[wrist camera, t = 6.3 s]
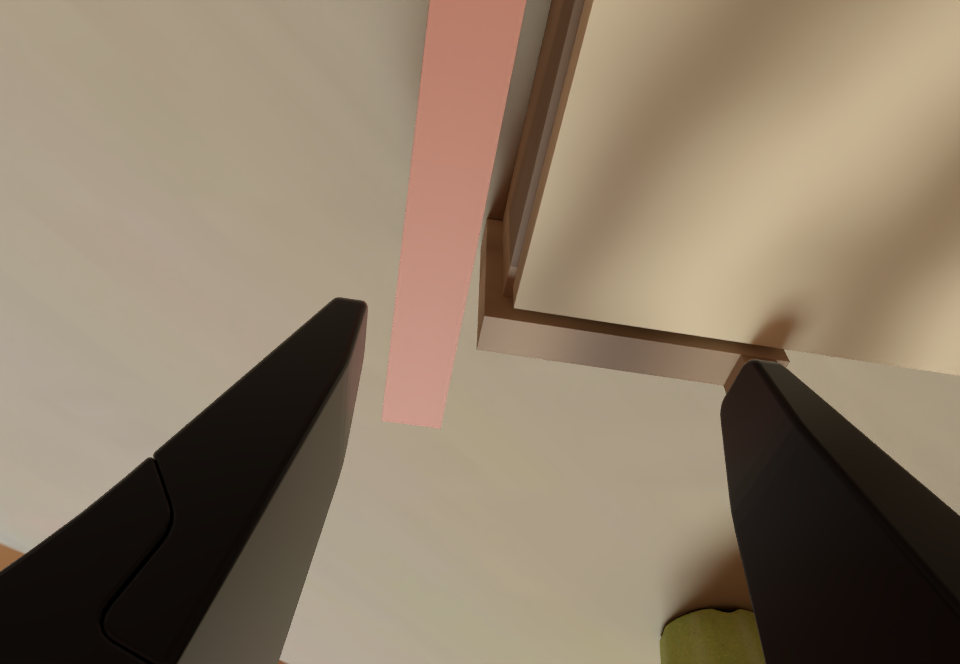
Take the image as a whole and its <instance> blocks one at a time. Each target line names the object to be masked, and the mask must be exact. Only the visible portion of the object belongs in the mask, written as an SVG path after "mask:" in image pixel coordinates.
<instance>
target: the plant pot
mask: <svg viewBox="0 0 960 664" xmlns="http://www.w3.org/2000/svg"><path fill="white" fill-rule="evenodd" d="M660 656H661V664H765V659H764V655H763V650H762V646H761V642H760V637H759V633H758V629H757V624H756V620H755V616H754V613H753V612H750V611H747V610H742V609H738V610H736V611H734V612H730V613H726V612H721V611H717V610H715V609H703V610H698V611H695V612H692V613H689V614H686V615H684V616H682V617H679V618H677V619H675V620H674V621H672V622H671V623H669V624H668V625H667V626H666V627H665V629H664V632H663V635H662V638H661V640H660Z"/></svg>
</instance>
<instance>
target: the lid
mask: <svg viewBox="0 0 960 664" xmlns="http://www.w3.org/2000/svg"><path fill="white" fill-rule="evenodd" d="M513 304H514V308H517V309H523V310H530V311H536V312H543V313H550V314H556V315H563V316H569V317H576V318H582V319H589V320H596V321H602V322H609V323H615V324H622V325H629V326H635V327H642V328H648V329H655V330H662V331H668V332H675V333H681V334H688V335H695V336H701V337H708V338H714V339H721V340H728V341H734V342H741V343H747V344H754V345H761V346H767V347H774V348H780V349H787V350H793V351H800V352H807V353H813V354H820V355H826V356H833V357H840V358H846V359H853V360H859V361H866V362H873V363H879V364H886V365H892V366H899V367H906V368H912V369H919V370H925V371H932V372H939V373H945V374H952V375H958V376H960V0H585V2H584V6H583V10H582V14H581V18H580V22H579V26H578V30H577V34H576V38H575V42H574V46H573V50H572V54H571V58H570V62H569V66H568V70H567V74H566V78H565V82H564V86H563V90H562V93H561V97H560V101H559V105H558V109H557V113H556V117H555V121H554V125H553V129H552V133H551V137H550V141H549V145H548V149H547V153H546V157H545V161H544V165H543V169H542V173H541V177H540V181H539V185H538V189H537V192H536V196H535V200H534V204H533V208H532V212H531V216H530V220H529V224H528V228H527V232H526V236H525V240H524V244H523V248H522V252H521V256H520V260H519V264H518V268H517V272H516V276H515V280H514V284H513Z"/></svg>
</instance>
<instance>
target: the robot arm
mask: <svg viewBox="0 0 960 664" xmlns="http://www.w3.org/2000/svg"><path fill="white" fill-rule="evenodd" d="M367 313H368V306H367V304H366V302H364V301H361V300H354V299H348V298H341V297H339V298H338V297H337V298H335V299H333V300H332V301H331V302H329V303H328V304H327V305H326V306H325V307H324V308H322V309H321V310H320V311H319V312H318V313H317V314H315V315H314V316H313V317H312V318H311V319H310V320H308V321H307V322H306V323H305V324H304V325H303V326H301V327H300V328H299V329H298V330H297V331H296V332H294V333H293V334H292V335H291V336H290V337H289V338H287V339H286V340H285V341H284V342H283V343H282V344H280V345H279V346H278V347H277V348H276V349H275V350H273V351H272V352H271V353H270V354H269V355H268V356H266V357H265V358H264V359H263V360H262V361H261V362H259V363H258V364H257V365H256V366H255V367H254V368H252V369H251V370H250V371H249V372H248V373H247V374H245V375H244V376H243V377H242V378H241V379H240V380H238V381H237V382H236V383H235V384H234V385H233V386H231V387H230V388H229V389H228V390H227V391H226V392H224V393H223V394H222V395H221V396H220V397H219V398H217V399H216V400H215V401H214V402H213V403H212V404H210V405H209V406H208V407H207V408H206V409H205V410H203V411H202V412H201V413H200V414H199V415H198V416H196V417H195V418H194V419H193V420H192V421H191V422H189V423H188V424H187V425H186V426H185V427H184V428H182V429H181V430H180V431H179V432H178V433H177V434H175V435H174V436H173V437H172V438H171V439H170V440H168V441H167V442H166V443H165V444H164V445H163V446H161V447H160V448H159V449H158V450H157V451H156V452H154V454H153V457H154V459H153V458H151V457H149V458H147V459H146V460H145V461H143V462H142V463H141V464H140V465H139V466H138V467H136V468H135V469H134V470H133V471H132V472H131V473H129V474H128V475H127V476H126V477H125V478H124V479H122V480H121V481H120V482H119V483H117V484H116V485H115V486H114V487H113V488H111V489H110V490H109V491H108V492H106V493H105V494H104V495H103V496H101V497H100V498H99V499H98V500H97V501H95V502H94V503H93V504H92V505H90V506H89V507H88V508H87V509H85V510H84V511H83V512H82V513H80V514H79V515H78V516H76V517H75V518H74V519H72V520H71V521H70V522H68V523H67V524H65V525H64V526H63V527H61V528H60V529H59V530H57V531H56V532H55V533H53V534H52V535H51V536H49V537H48V538H46V539H45V540H44V541H42V542H41V543H40V544H38V545H37V546H36V547H34V548H33V549H31V550H30V551H29V552H27V553H26V554H24V555H23V556H22V557H20V558H19V559H17V560H16V561H15V562H13V563H12V564H11V565H9V566H7V567H6V568H5V569H3V570H2V571H0V664H278V661H279V658H280V655H281V652H282V649H283V646H284V643H285V640H286V637H287V634H288V631H289V628H290V625H291V622H292V619H293V616H294V613H295V610H296V607H297V604H298V601H299V598H300V595H301V592H302V589H303V586H304V583H305V580H306V577H307V574H308V571H309V567H310V564H311V561H312V558H313V555H314V552H315V549H316V546H317V543H318V540H319V537H320V534H321V531H322V528H323V525H324V522H325V519H326V516H327V513H328V510H329V507H330V504H331V501H332V498H333V495H334V492H335V489H336V486H337V483H338V479H339V476H340V473H341V469H342V466H343V462H344V457H345V453H346V449H347V443H348V438H349V433H350V428H351V422H352V417H353V412H354V407H355V401H356V396H357V391H358V386H359V380H360V375H361V370H362V364H363V358H364V350H365V338H366V325H367ZM720 417H721V427H722V436H723V445H724V454H725V463H726V472H727V481H728V490H729V499H730V506H731V513H732V518H733V523H734V528H735V533H736V537H737V541H738V546H739V550H740V555H741V559H742V563H743V568H744V572H745V576H746V581H747V585H748V589H749V594H750V598H751V603H752V607H753V611H754V616H755V620H756V624H757V629H758V633H759V637H760V642H761V646H762V650H763V655H764V659H765V664H960V516H959V515H958V514H957V513H956V512H955V511H953V510H952V509H951V508H950V507H949V506H947V505H946V504H945V503H944V502H943V501H942V500H940V499H939V498H938V497H937V496H936V495H935V494H933V493H932V492H931V491H930V490H929V489H928V488H926V487H925V486H924V485H923V484H922V483H920V482H919V481H918V480H917V479H916V478H915V477H913V476H912V475H911V474H910V473H909V472H908V471H906V470H905V469H904V468H903V467H902V466H901V465H899V464H898V463H897V462H896V461H895V460H893V459H892V458H891V457H890V456H889V455H888V454H886V453H885V452H884V451H883V450H882V449H881V448H879V447H878V446H877V445H876V444H875V443H873V442H872V441H871V440H870V439H869V438H868V437H866V436H865V435H864V434H863V433H862V432H861V431H859V430H858V429H857V428H856V427H855V426H854V425H852V424H851V423H850V422H849V421H848V420H846V419H845V418H844V417H843V416H842V415H841V414H839V413H838V412H837V411H836V410H835V409H834V408H832V407H831V406H830V405H829V404H828V403H827V402H825V401H824V400H823V399H822V398H821V397H820V396H818V395H817V394H816V393H815V392H814V391H812V390H811V389H810V388H809V387H808V386H807V385H805V384H804V383H803V382H802V381H801V380H800V379H798V378H797V377H796V376H795V375H794V374H793V373H791V372H790V371H789V370H788V369H787V368H785V367H784V366H783V365H782V364H780V363H777V362H772V361H765V360H758V359H752V360H749V361H747V362H746V363H745V364H744V365H743V367H742V368H741V370H740V372H739V373H738V375H737V377H736V379H735V380H734V382H733V384H732V385H731V387H730V389H729V391H728V392H727V394H726V396H725V397H724V400H723V402H722V405H721V412H720Z"/></svg>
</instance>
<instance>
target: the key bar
mask: <svg viewBox="0 0 960 664" xmlns="http://www.w3.org/2000/svg"><path fill="white" fill-rule="evenodd" d="M525 5H526V0H430V3H429V12H428V21H427V29H426V38H425V47H424V56H423V64H422V73H421V82H420V91H419V99H418V108H417V117H416V125H415V134H414V143H413V152H412V160H411V169H410V178H409V187H408V195H407V204H406V213H405V221H404V230H403V239H402V248H401V256H400V265H399V274H398V283H397V291H396V300H395V309H394V317H393V326H392V335H391V344H390V352H389V361H388V370H387V379H386V387H385V396H384V405H383V414H382V421H388V422H395V423H403V424H410V425H418V426H425V427H433V428H440V429H441V424H442V419H443V414H444V409H445V404H446V399H447V394H448V389H449V384H450V379H451V374H452V369H453V364H454V359H455V354H456V349H457V344H458V339H459V334H460V329H461V324H462V319H463V314H464V309H465V304H466V299H467V294H468V290H469V285H470V280H471V275H472V270H473V265H474V260H475V255H476V250H477V245H478V240H479V235H480V230H481V225H482V220H483V215H484V210H485V205H486V200H487V195H488V190H489V185H490V180H491V175H492V170H493V165H494V160H495V155H496V150H497V145H498V140H499V135H500V130H501V125H502V120H503V115H504V110H505V105H506V100H507V95H508V90H509V85H510V80H511V75H512V70H513V65H514V60H515V55H516V50H517V45H518V40H519V35H520V30H521V25H522V20H523V15H524V10H525Z"/></svg>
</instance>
